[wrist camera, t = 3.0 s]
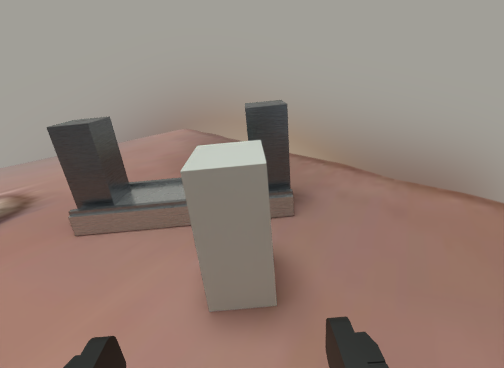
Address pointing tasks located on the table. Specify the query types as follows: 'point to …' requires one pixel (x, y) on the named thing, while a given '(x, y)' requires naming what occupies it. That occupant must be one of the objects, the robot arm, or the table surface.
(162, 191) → the rail
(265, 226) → the block
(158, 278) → the table surface
